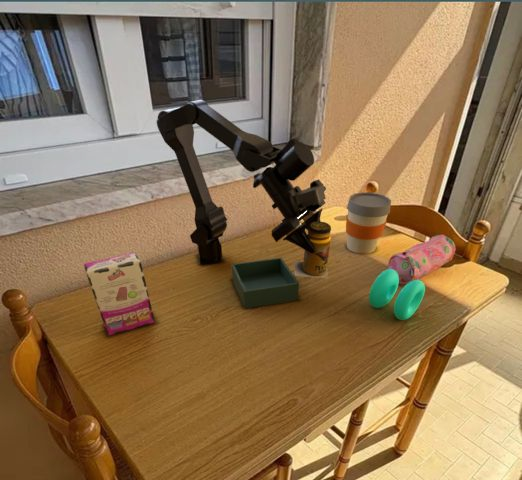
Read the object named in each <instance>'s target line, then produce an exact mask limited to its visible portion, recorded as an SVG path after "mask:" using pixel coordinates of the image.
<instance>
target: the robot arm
mask: <svg viewBox="0 0 522 480" xmlns="http://www.w3.org/2000/svg"><path fill="white" fill-rule="evenodd" d="M156 118H157V119H156V127H157V129H158V131H159V133H160V135H161V137H162V139H163V141H164V143H165V144H166V145H167V146H168V147H169V148H170V150H172V151H173V152H174V155H175V157H176V159H177V162H178V164H179V167H180V170H181V173H182V175H183V177H184V181H185V183H186V186H187V189H188V192H189V195H190V196H191V199H192V202H193V204H194V208H195V210H194V220H193V221H194V224H195V229H194V230H193V232H192V233H190V234H189V238H190V241H191V243H192V244H195V245H196V248H197V253H196V256H197V259H198V262H199V265H209V264H217V263H222V262H223V260H222V257H223V249H222V248H223V247H222V242H221V241H220V239H219V238H221V237H223V235H224V232H225V231H226V230H227V227H228V223H227V221H228V218H227V217H226V214H225V211H224V208H223V206H217V205H216V203H214V201H213V199H212V196H211V194H210V190H209V188H208V185H207V182H206V179H205V176H204V173H203V170H202V167H201V164H200V162H199V159H198V156H197V153H196V151H195V147H194V137H195V130H194V125H198V126H199V127H200V128H201V129H202V130H204V131H205V132H207V133H208V134H209V135H210V136H212V137H213V138H215V139H216V140H217V141H219V142H220V143H222V144H223V145H224V146H226V147H227V148H228V149H229V150H231V151H232V153H233V155H234V157H235V159H236V162H238V163H239V164H240V165H241V166H242V167H243V168H244V169H245V170H246V171H248V172H251V173H254V172H257V171H259V170H261V169H264V168H265V169H264V170H263V171H262V172H261V173H260V172H258V173H256V174H254V175H253V183H252V188H253V189H256V188H258V187H260V186H262V188H263V190H264V191H265V193H266V194H267V195H268V196H269V198H270V199H271V201H272V202H273V204H272V205H271V207H272V209H273V210H276V209H278V211H279V213H280V214H281V215H282V217H283V219H281V222H280V223H279V224H278V225H276V226H275V227H274V228H273V229H271V237H272V239H273V240H274V242H275V243H278V242H279V241H280V240H283V241H288V242H289V243H291V244H294V245H296V246H297V247H299V248H301V249H302V250H304V251H305V250H306V251H308V252H310V253H312V254H313V253H314V252H315V248H314V246H313V244H312V243H311V241H310V239H309V237H308V235H307V234H308V233H307V232H306V231H308V230H309V225H310V224H311V223H313V222H317V221H319V222H322V220H321V216H322V212H323V210H324V209H323V206H324V205H326V201H325V200H326V198H327V197H326V194H325V191H327V187H326V186H324V183H322V181H321V180H320V179H316V180H315V179H314V180H313V181H311V182H310V184H309V187H306V188H305V189H303V190H302V189H301V187H300V186H298V185H295V187H294V185H293V184H292V182H294V181H296V180H297V179H298V178H300V176H302V175H304V173H305V172H307V170H309V169H310V168H311V167H312V166H313V165H314V163H315V156H314V153H313V152H312V150H311V148H310V147H308V146H307V144H305V143H303V142H302V141H299V139H298V138H297V136H295V137H292V138H290V139H289V140H288V141H287V143H286V145H284V147H282V148H279V147H277V146H275V145H273V143H272V142H271V141H270V140H268V139H266V138H264V137H262V136H260V135H257V134H253V133H250V132H247V131H244V130H243V129H241V128H240V127H238V126H237V125H236V124H234V123H233V122H232V121H230V120H229V119H227V117H225V116H223V115H222V114H221V113H220V112H218V111H217V110H215V109H214V108H212V107H211V106H210V105H209V104H208V103H207V102H206V101H205V100H204V99H197V100H192V101H188V102H187V103H186V104H184V105H183V106H179V107H175V108H170V109H164V110H161V111H160V112H159V113H158V115H157V117H156ZM273 164H275V165H274V166H271V165H273ZM301 221H303V222H302V223H301Z"/></svg>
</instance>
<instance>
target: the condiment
mask: <svg viewBox="0 0 522 480" xmlns="http://www.w3.org/2000/svg"><path fill="white" fill-rule="evenodd" d="M331 231H332V226H331V224H329V223H328V222H325V221H321V222H319V221H317V222H313V223H311V224H310V225H309V230H307V233H306V234H307V235H308V237H309V239H310V241H311V243H312V244H313V246H314V248H315V252H314V253H313V254H312V253H310V252H308V251H306V250H305V249H304V251H303V261H298V260H296V261H295V260H294V261H293V270H294V271H293V272H294V273H293V275H294V277H304V278H305V277H306V278H318V279H319V278H320V279H321V278H323V279H324V278H325V279H329V277H330V276H329V272H328V262H329V256H330V250H331V249H330V248H331V244H332V243H331V242H332V237H331Z"/></svg>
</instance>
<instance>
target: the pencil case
mask: <svg viewBox="0 0 522 480" xmlns="http://www.w3.org/2000/svg"><path fill="white" fill-rule="evenodd" d="M455 254H456V244H455V242H454V241H453V239H451V238H450V237H448V236H446V235H445V234H436V235H433V236H432V237H431V238H430V239H429V240H426V241H424V242H420V243H417V244H415V245H413V246H410V247H409V248H408V249H406V250H404V251H401V252H396V253H395V254H392V255H391V256H390V257H389V259H388V262H387V269H393V270H395V271H396V272H397V274H398V276H399V284H398V285H406V284H408V283H409V282H411V281H413V280H419V279H421V278H423V277H425V276H427V275H430V273H432V272H435V271H436V270H437V269H439V268H441V267H442V266H444V265H445V264H447V263H449V262H450V261H451V260H452V259H453V258H454V256H455Z"/></svg>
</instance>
